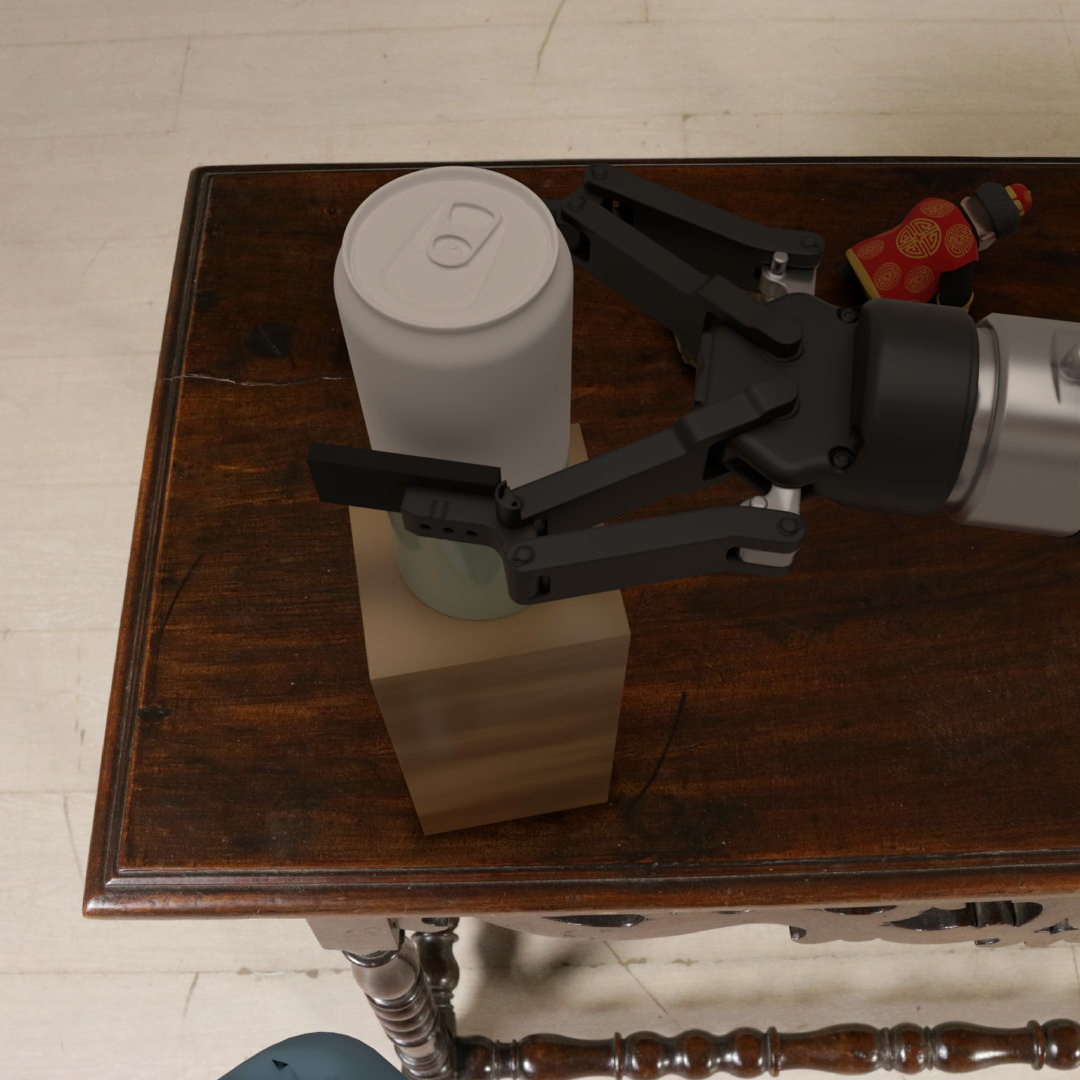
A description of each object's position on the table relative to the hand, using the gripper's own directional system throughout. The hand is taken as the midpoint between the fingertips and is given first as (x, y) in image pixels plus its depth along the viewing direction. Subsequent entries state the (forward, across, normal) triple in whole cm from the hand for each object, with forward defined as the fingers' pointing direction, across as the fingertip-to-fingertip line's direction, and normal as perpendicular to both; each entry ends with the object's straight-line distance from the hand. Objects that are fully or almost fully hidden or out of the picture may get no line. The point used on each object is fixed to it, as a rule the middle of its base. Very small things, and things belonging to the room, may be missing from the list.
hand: (356, 339), depth 43 cm
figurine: (-31, -43, +41) cm, 67 cm away
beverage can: (-4, 0, +7) cm, 8 cm away
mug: (-3, -2, +14) cm, 15 cm away
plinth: (-4, 0, +40) cm, 41 cm away
